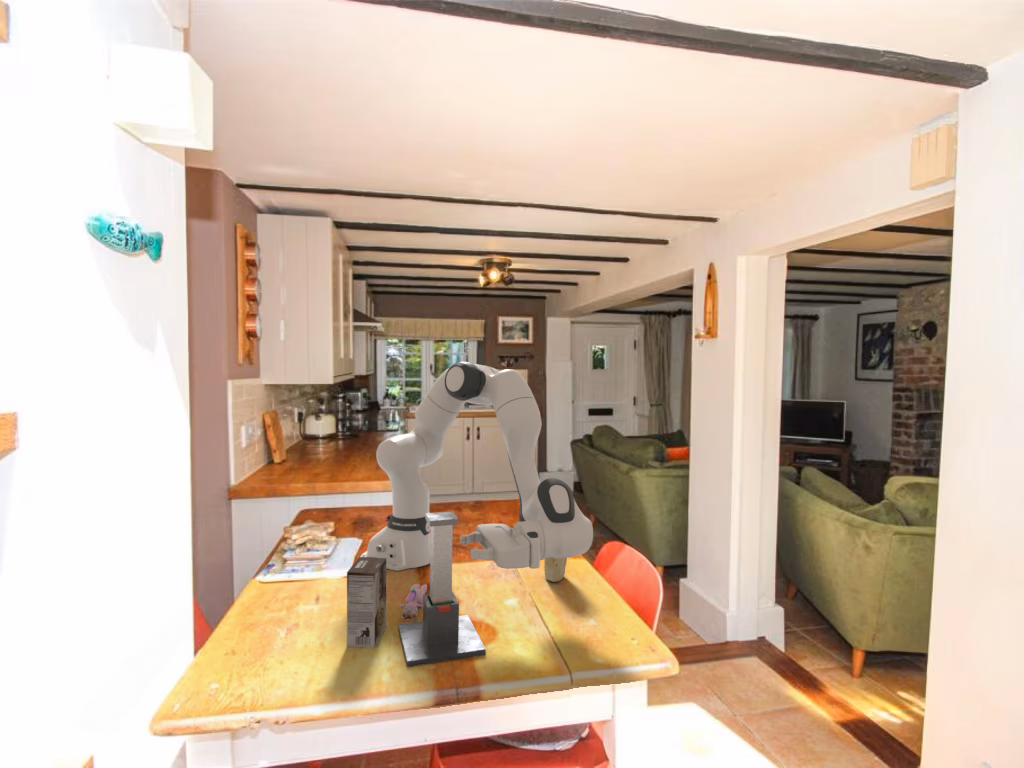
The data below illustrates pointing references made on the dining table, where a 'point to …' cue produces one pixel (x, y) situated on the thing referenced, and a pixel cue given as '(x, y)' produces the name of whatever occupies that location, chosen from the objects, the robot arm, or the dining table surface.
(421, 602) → the rabbit figure
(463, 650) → the stand base
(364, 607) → the coffee box
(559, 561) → the food model
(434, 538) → the steel column
